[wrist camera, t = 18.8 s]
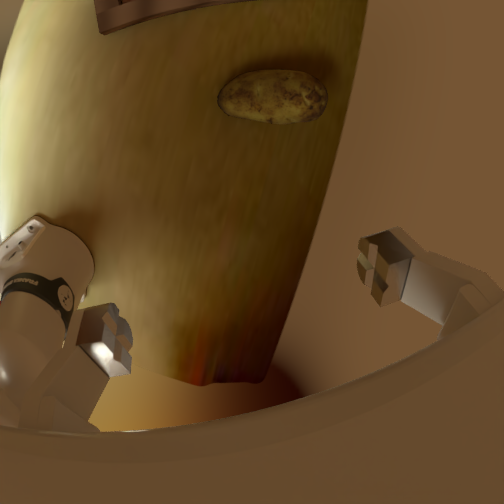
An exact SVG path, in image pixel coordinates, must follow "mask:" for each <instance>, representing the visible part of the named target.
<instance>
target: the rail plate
mask: <svg viewBox="0 0 504 504" xmlns="http://www.w3.org/2000/svg"><path fill="white" fill-rule="evenodd" d="M244 1H255V0H123V4H122V2H121V0H94V3H95V10H96V15H97V21H98V27H99V32H100V33H101V34H103V35H107V34H109V33H112V32H115V31H117V30H120V29H123V28H126V27H129V26H132V25H135V24H138V23H141V22H144V21H147V20H151V19H154V18H158V17H162V16H165V15H169V14H173V13H178V12H182V11H186V10H191V9H196V8H201V7H207V6H213V5H220V4H227V3H235V2H244Z"/></svg>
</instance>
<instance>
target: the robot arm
mask: <svg viewBox="0 0 504 504" xmlns="http://www.w3.org/2000/svg"><path fill="white" fill-rule="evenodd" d="M31 226H33V228H32V227H31ZM358 248H359V250H360V251H361V254H360V255H359V257H358V258H357V270H358V274H359V277H360V279H361V280H362V282H363V284H364V285H366V286H368V287H371V295H372V296H373V298H374V299H375V301H376V302H377V303H378V305H379V306H380V307H382V306H385V305H388V304H391V303H393V302H396V301H399V300H401V301H402V302H404V303H405V304H407V305H409V306H410V307H412V308H414V309H416V310H417V311H419V312H421V313H422V314H424V315H426V316H427V317H429V318H431V319H432V320H434V321H436V322H437V323H439V324H441V325H442V328H441V330H440V332H439V335H438V337H437V340H438V341H436V342H434V343H432V344H431V345H429V346H427V347H425V348H423V349H421V350H419V351H417V352H415V353H413V354H411V355H409V356H407V357H405V358H403V359H401V360H399V361H397V362H395V363H393V364H390V365H388V366H386V367H384V368H381V369H379V370H377V371H375V372H372V373H370V374H367V375H365V376H363V377H360V378H358V379H355V380H352V381H350V382H347V383H345V384H342V385H340V386H337V387H334V388H331V389H328V390H325V391H323V392H320V393H317V394H314V395H311V396H308V397H304V398H301V399H298V400H295V401H292V402H288V403H284V404H281V405H277V406H274V407H270V408H266V409H262V410H258V411H255V412H251V413H246V414H242V415H237V416H232V417H228V418H223V419H218V420H213V421H207V422H201V423H195V424H188V425H181V426H175V427H166V428H156V429H147V430H133V431H115V432H100V430H99V429H98V428H97V427H95V426H94V425H92V424H90V423H89V422H88V419H89V418H90V415H91V414H92V411H93V409H94V408H95V406H96V404H97V402H98V400H99V398H100V396H101V394H102V392H103V390H104V388H105V387H106V384H107V383H108V381H109V379H110V378H109V377H114V376H120V375H126V374H131V360H132V357H131V356H130V354H129V353H128V352H129V350H130V349H131V347H132V345H133V337H132V332H131V329H130V326H129V324H128V323H127V321H126V320H125V319H124V318H122V317H120V316H119V309H118V308H117V306H116V305H115V304H114V303H106V304H102V305H97V306H92V307H87V308H84V309H79V310H77V308H78V306H79V304H80V302H83V301H84V299H85V296H86V288H87V286H88V284H89V283H90V281H91V280H92V277H93V274H94V263H93V259H92V256H91V254H90V252H89V250H88V248H87V247H86V245H85V244H84V243H83V242H82V241H81V240H80V239H79V238H78V237H77V236H76V235H74V234H73V233H72V232H70V231H68V230H66V229H64V228H61V227H57V226H54V225H51V224H49V223H48V222H46V221H45V220H44V219H42V218H40V217H39V216H33V217H32V218H31V219H29V220H28V221H27V222H26V223H25V224H23V225H22V226H21V227H20V228H19V229H18V230H16V231H15V232H14V233H13V234H12V235H11V236H9V237H8V238H7V239H6V240H5V241H4V242H3V243H2V244H1V245H0V293H1V295H2V296H1V301H0V504H504V291H503V290H502V289H501V288H500V287H499V286H498V285H497V284H496V283H495V282H494V281H493V280H492V279H491V277H490V276H489V275H488V274H487V273H485V272H483V271H481V270H478V269H476V268H473V267H470V266H468V265H465V264H463V263H460V262H458V261H455V260H452V259H449V258H447V257H444V256H442V255H439V254H436V253H433V252H430V251H429V252H426V251H425V250H424V249H423V248H422V247H421V246H420V245H419V244H418V243H417V242H416V241H415V240H414V239H413V238H412V237H411V236H410V235H408V234H407V233H406V232H405V231H404V230H403V229H402V228H401V227H394V228H391V229H388V230H385V231H382V232H379V233H375V234H372V235H368V236H365V237H361V238H360V240H359V244H358ZM64 340H65V342H64V346H63V348H62V345H63V341H64Z"/></svg>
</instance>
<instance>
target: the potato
mask: <svg viewBox="0 0 504 504" xmlns="http://www.w3.org/2000/svg"><path fill="white" fill-rule="evenodd" d="M217 98H218V100H217V101H218V105H219V107H220V108H221V109H222V110H223V111H224V113H226V114H227V115H228V116H234V117H238V118H244V119H249V120H255V121H261V122H267V123H271V124H272V123H274V124H290V123H295V122H309V121H312V120H315V119H317V118H318V117H320V116H321V115H322V113H323V112H324V110H325V108H326V105H327V101H328V93H327V90H326V88H325V87H324V85H323V84H322V83H321V82H320V81H319V80H318V79H317V78H315V77H313V76H311V75H310V74H308V73H305V72H302V71H294V70H284V69H278V70H258V71H252V72H248V73H245V74H242V75H239V76H237V77H236V78H234V79H233V80H232V81H231V82H229V83H228V84H227V85H225V86H224V87H223V88H222V89H221V91H220V92H219V95H218V97H217Z"/></svg>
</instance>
